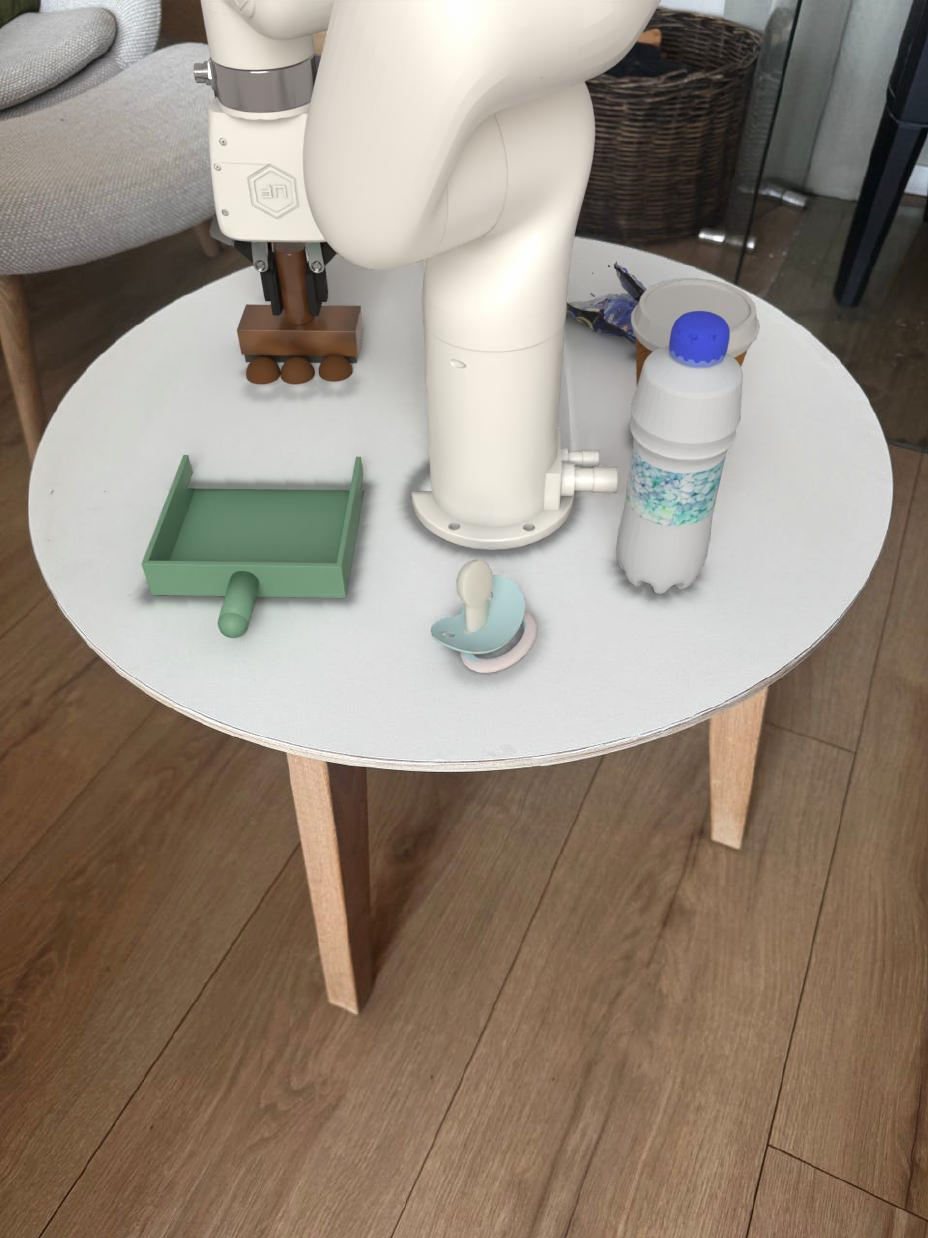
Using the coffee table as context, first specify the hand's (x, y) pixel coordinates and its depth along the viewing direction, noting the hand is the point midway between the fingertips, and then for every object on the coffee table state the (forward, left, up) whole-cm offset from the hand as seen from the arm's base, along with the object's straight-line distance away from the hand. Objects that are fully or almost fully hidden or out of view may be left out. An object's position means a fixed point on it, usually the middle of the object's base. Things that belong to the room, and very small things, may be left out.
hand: (298, 306), depth 87 cm
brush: (0, 0, -5) cm, 5 cm away
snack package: (-28, -7, -6) cm, 30 cm away
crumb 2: (0, +4, -4) cm, 6 cm away
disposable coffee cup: (-32, +11, -6) cm, 35 cm away
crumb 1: (+3, +4, -4) cm, 7 cm away
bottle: (-29, +27, -6) cm, 40 cm away
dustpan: (0, +27, -6) cm, 27 cm away
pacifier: (-17, +34, -6) cm, 39 cm away
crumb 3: (-3, +3, -4) cm, 6 cm away
